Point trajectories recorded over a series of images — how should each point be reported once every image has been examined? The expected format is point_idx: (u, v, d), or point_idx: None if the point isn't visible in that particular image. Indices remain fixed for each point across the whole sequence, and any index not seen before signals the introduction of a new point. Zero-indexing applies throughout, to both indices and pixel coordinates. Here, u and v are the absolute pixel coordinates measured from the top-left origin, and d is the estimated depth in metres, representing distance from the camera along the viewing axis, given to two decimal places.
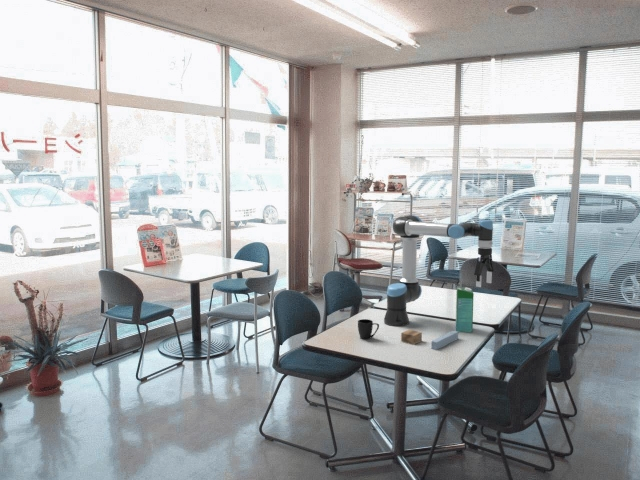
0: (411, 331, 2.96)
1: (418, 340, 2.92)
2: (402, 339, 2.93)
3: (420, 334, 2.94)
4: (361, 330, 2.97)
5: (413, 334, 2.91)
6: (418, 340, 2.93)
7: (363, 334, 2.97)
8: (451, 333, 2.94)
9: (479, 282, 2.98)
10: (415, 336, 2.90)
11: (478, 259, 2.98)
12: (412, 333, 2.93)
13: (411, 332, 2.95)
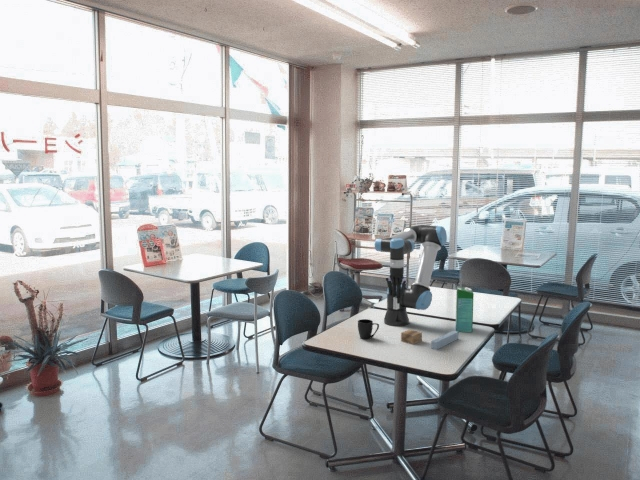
0: (411, 331, 2.96)
1: (418, 340, 2.92)
2: (402, 338, 2.94)
3: (420, 334, 2.93)
4: (361, 330, 2.97)
5: (413, 334, 2.91)
6: (418, 340, 2.92)
7: (363, 334, 2.97)
8: (451, 333, 2.94)
9: None
10: (415, 336, 2.90)
11: None
12: (412, 333, 2.93)
13: (412, 332, 2.95)
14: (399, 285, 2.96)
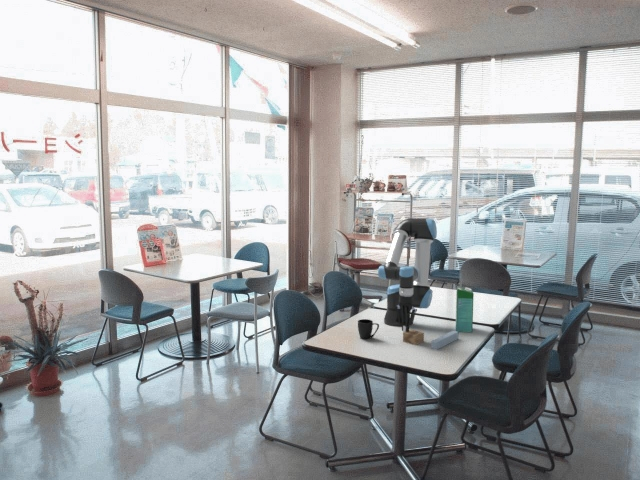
0: (413, 331, 2.95)
1: (420, 340, 2.91)
2: (404, 339, 2.93)
3: (422, 334, 2.92)
4: (361, 330, 2.97)
5: (415, 334, 2.90)
6: (420, 340, 2.92)
7: (363, 334, 2.97)
8: (451, 333, 2.94)
9: None
10: (416, 336, 2.89)
11: None
12: (413, 333, 2.92)
13: (413, 332, 2.94)
14: (408, 313, 2.94)
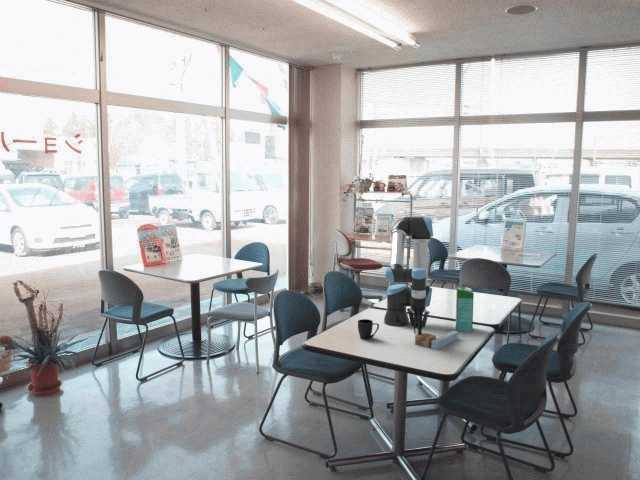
0: (425, 334, 2.90)
1: None
2: (416, 342, 2.88)
3: (434, 337, 2.88)
4: (361, 330, 2.97)
5: (427, 337, 2.85)
6: None
7: (363, 334, 2.97)
8: (451, 333, 2.94)
9: None
10: (429, 339, 2.84)
11: None
12: (426, 335, 2.88)
13: (425, 335, 2.89)
14: (420, 316, 2.89)
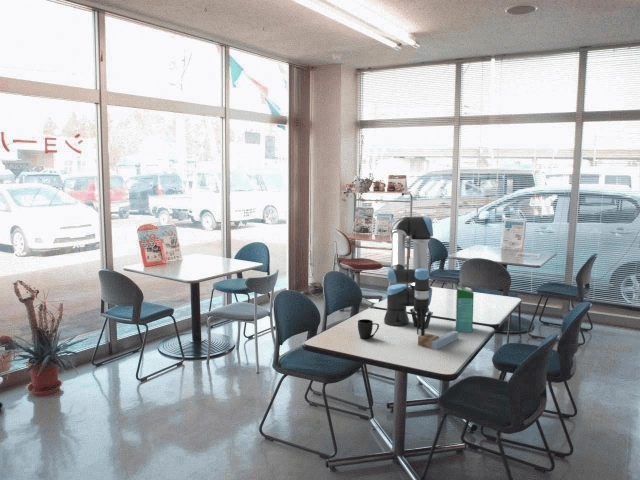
0: (428, 335, 2.89)
1: None
2: (419, 343, 2.87)
3: None
4: (361, 330, 2.97)
5: (430, 338, 2.84)
6: None
7: (363, 334, 2.97)
8: (451, 333, 2.94)
9: None
10: (432, 340, 2.83)
11: None
12: (429, 336, 2.86)
13: (428, 335, 2.88)
14: (424, 317, 2.88)
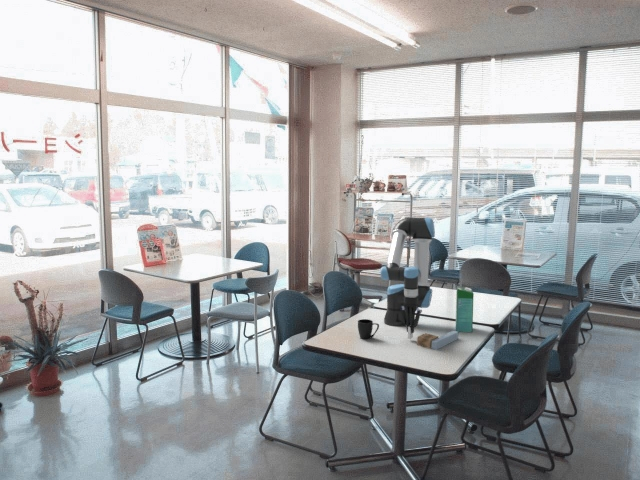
0: (427, 335, 2.89)
1: None
2: (418, 342, 2.87)
3: None
4: (361, 330, 2.97)
5: (429, 338, 2.84)
6: None
7: (363, 334, 2.97)
8: (451, 333, 2.94)
9: None
10: (431, 340, 2.83)
11: None
12: (428, 336, 2.86)
13: (428, 335, 2.88)
14: (413, 314, 2.92)
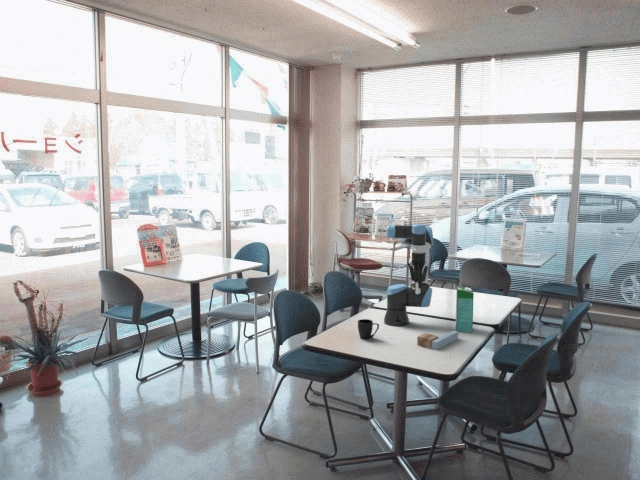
0: (427, 335, 2.89)
1: None
2: (418, 343, 2.87)
3: None
4: (361, 330, 2.97)
5: (429, 338, 2.84)
6: None
7: (363, 334, 2.97)
8: (451, 333, 2.94)
9: None
10: (431, 340, 2.83)
11: None
12: (428, 336, 2.86)
13: (428, 335, 2.88)
14: (421, 270, 2.99)
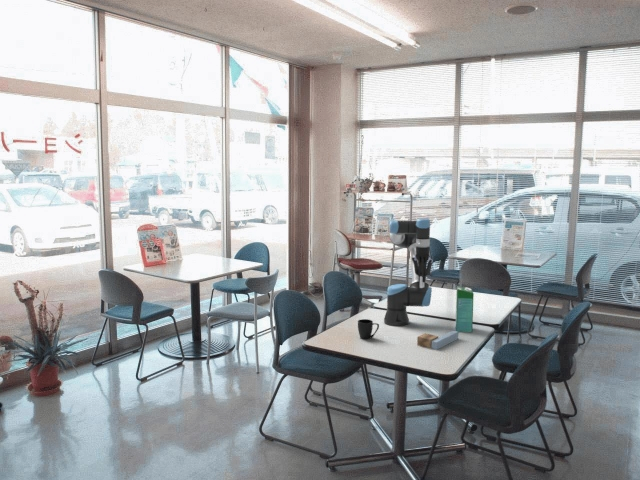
0: (427, 335, 2.89)
1: None
2: (419, 343, 2.87)
3: None
4: (361, 330, 2.97)
5: (430, 338, 2.84)
6: None
7: (363, 334, 2.97)
8: (451, 333, 2.94)
9: None
10: (432, 340, 2.83)
11: None
12: (428, 336, 2.86)
13: (428, 335, 2.88)
14: (425, 264, 3.03)
